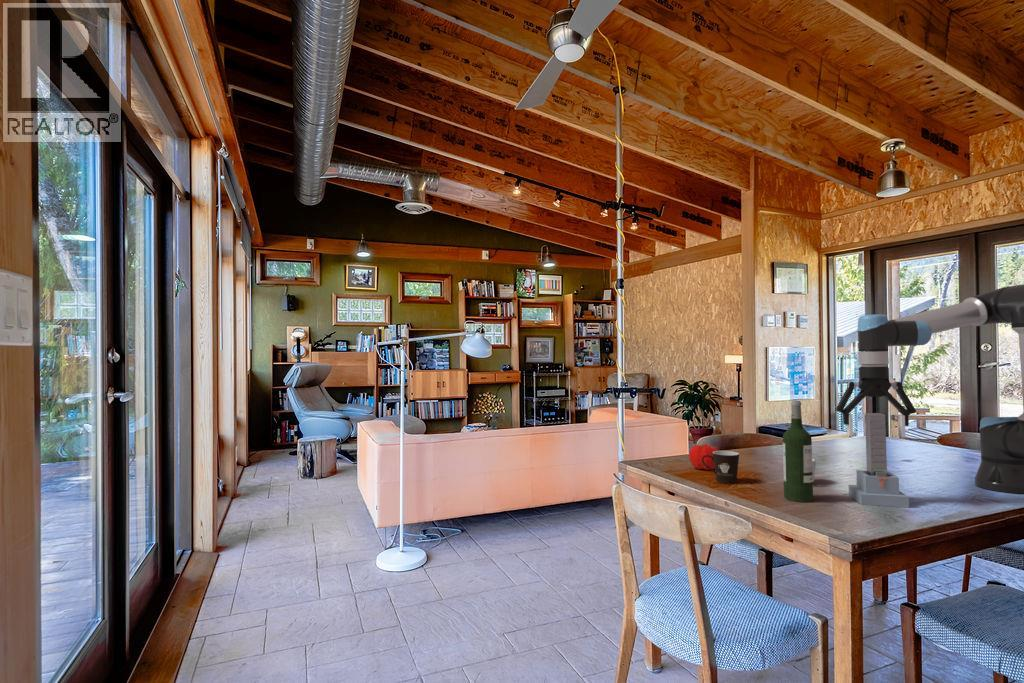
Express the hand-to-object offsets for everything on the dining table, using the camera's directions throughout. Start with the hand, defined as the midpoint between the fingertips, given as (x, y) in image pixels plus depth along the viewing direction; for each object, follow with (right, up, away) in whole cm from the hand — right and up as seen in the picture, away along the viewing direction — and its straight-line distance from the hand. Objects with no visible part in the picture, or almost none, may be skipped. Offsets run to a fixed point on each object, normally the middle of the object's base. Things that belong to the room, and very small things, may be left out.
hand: (875, 436), depth 161 cm
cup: (-10, -20, +21) cm, 31 cm away
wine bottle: (-22, -20, +3) cm, 30 cm away
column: (0, -13, 0) cm, 13 cm away
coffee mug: (-36, -21, +26) cm, 49 cm away
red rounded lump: (-35, -21, +47) cm, 62 cm away
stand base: (0, -19, 0) cm, 19 cm away
